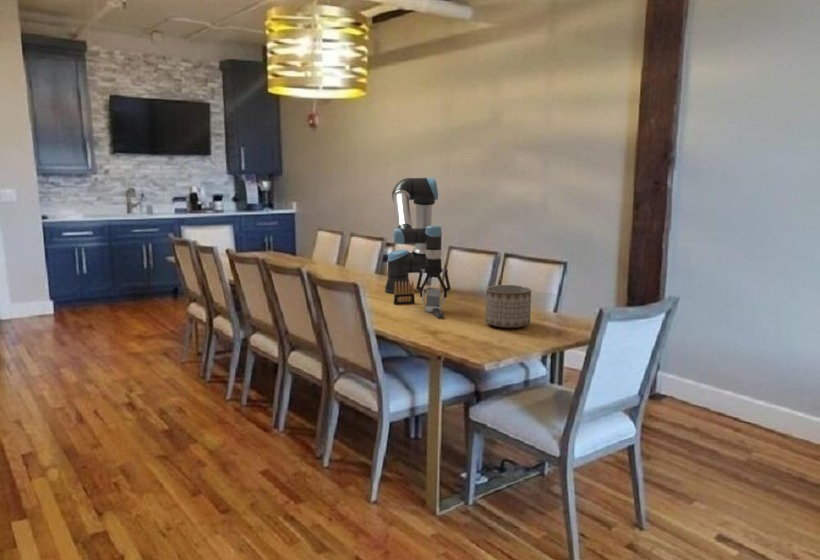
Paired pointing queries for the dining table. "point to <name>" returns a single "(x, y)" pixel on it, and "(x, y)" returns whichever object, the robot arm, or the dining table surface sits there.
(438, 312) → the metal ladle
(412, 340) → the dining table surface
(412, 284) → the ammunition clip
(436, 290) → the grey rectangular block
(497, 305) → the planter
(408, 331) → the dining table surface
